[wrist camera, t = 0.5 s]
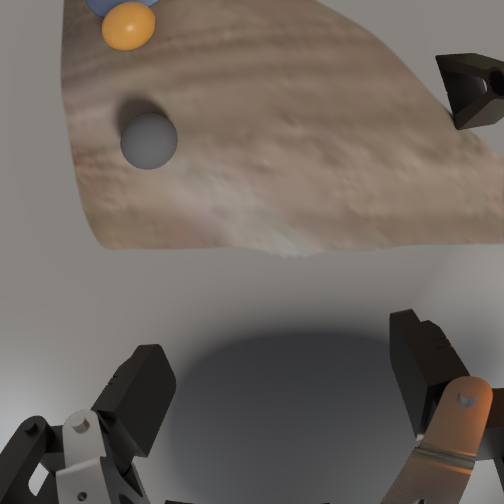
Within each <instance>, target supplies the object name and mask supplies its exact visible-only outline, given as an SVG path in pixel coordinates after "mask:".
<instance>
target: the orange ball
mask: <svg viewBox="0 0 504 504" xmlns="http://www.w3.org/2000/svg"><path fill="white" fill-rule="evenodd" d="M155 23H156V22H155V16H154V14H153V12H152V10H151V9H150V8H149V7H148V6H146V5H145V4H143V3H140V2H134V1H131V2H125V3H122V4H119V5H117V6H116V7H114V8H113V9H111V10H110V11H109V13H108V14H107V15H106V17H105V18H104V20H103V23H102V35H103V38H104V40H105V42H106V43H107V44H108V45H109V46H111V47H113V48H115V49H118V50H132V49H135V48H138V47H140V46H141V45H143V44H144V43H146V42H147V41H148V40H149V38H150V37H151V36H152V34H153V32H154V29H155Z"/></svg>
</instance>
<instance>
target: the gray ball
mask: <svg viewBox="0 0 504 504" xmlns="http://www.w3.org/2000/svg"><path fill="white" fill-rule="evenodd" d="M177 141H178V140H177V132H176V129H175V127H174V125H173V124H172V122H171V121H170V120H169V119H168V118H166V117H165V116H163V115H160V114H157V113H144V114H141V115H138V116H136V117H135V118H133V119H132V120H131V121H130V122H129V123H128V124H127V125H126V126H125V128H124V130H123V132H122V135H121V142H120V143H121V150H122V153H123V155H124V157H125V158H126V160H127V161H128V162H129V163H130V164H132V165H133V166H135V167H137V168H140V169H146V170H148V169H155V168H158V167H160V166H162V165H164V164H165V163H166V162H168V161H169V160H170V158H171V157H172V156H173V154H174V152H175V150H176V147H177Z"/></svg>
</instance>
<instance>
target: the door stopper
mask: <svg viewBox="0 0 504 504" xmlns="http://www.w3.org/2000/svg"><path fill="white" fill-rule="evenodd" d="M435 58H436V61H437V64H438V67H439V70H440V73H441V76H442V79H443V82H444V85H445V89H446V91H447V93H448V94H447V95H448V99H449V102H450V106H451V110H452V114H453V117H454V121H455V126H456V129H457V130H462V129H468V128H473V127H479V126H485V125H491V124H495V123H496V122H498V121H499V120H500V119H502V118H503V117H504V62H503V61H500V60H496V59H493V58H490V57H486V56H483V55H479V54H476V53H468V54H467V53H466V54H449V55H437V56H436V57H435ZM483 80H484V81H485V82H486V85H487V91H486V90H485V86H484V83H483Z"/></svg>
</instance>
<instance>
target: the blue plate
mask: <svg viewBox="0 0 504 504" xmlns="http://www.w3.org/2000/svg"><path fill="white" fill-rule="evenodd" d="M86 1H87V4H88V6H89V8H90V9H91V10H92V11H93V12H94V13H96V14H97V15H99V16H102V17H106V15H107V14H108V13H109V11H110V10H111V9H113V8H114V7H116V6H117V5H119V4H122V3H125V2H131V1H134V2H140V3H143V4H145V5H146V6H148V7H150V6H151V5H153V4H154V3H156V2H157V1H159V0H86Z"/></svg>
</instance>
